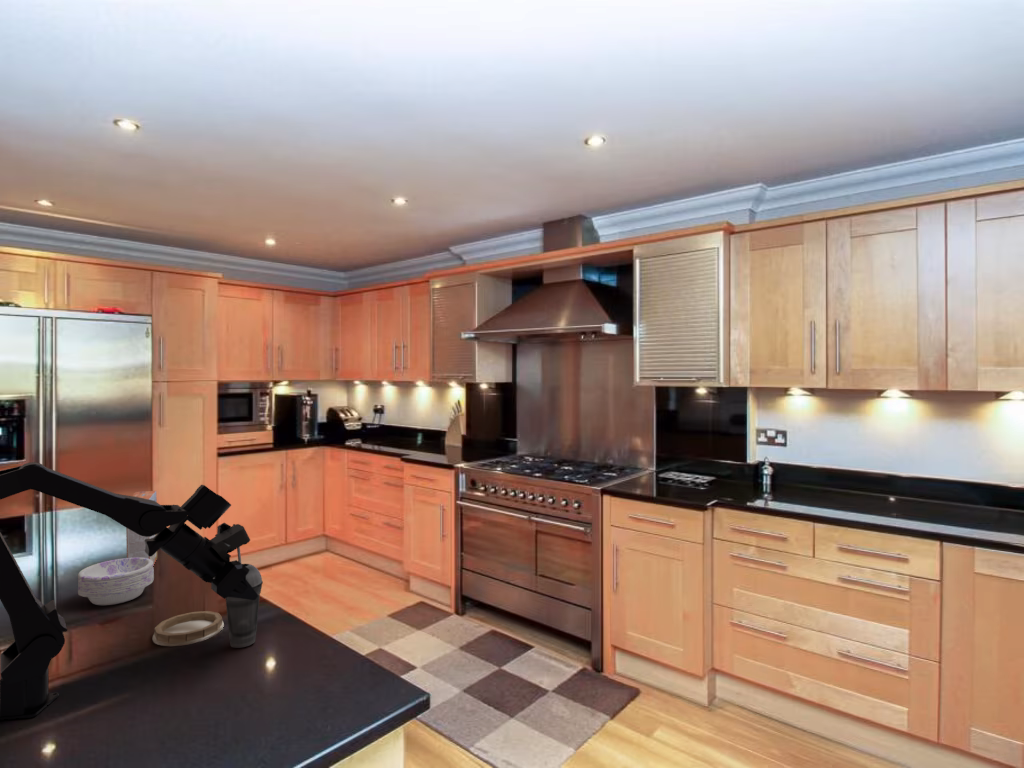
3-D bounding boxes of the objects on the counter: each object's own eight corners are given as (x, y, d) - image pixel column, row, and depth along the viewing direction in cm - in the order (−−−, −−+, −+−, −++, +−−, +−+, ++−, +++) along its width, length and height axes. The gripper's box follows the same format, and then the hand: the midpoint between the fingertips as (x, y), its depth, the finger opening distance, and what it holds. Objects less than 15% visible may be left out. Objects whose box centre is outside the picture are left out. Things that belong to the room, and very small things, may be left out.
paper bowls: (75, 616, 128) (74, 581, 128) (80, 595, 141) (80, 563, 141) (154, 601, 136) (154, 568, 136) (153, 583, 149) (153, 553, 149)
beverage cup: (246, 652, 109) (247, 548, 109) (213, 649, 110) (214, 546, 111) (270, 636, 116) (270, 538, 116) (239, 633, 118) (239, 537, 118)
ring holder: (211, 643, 114) (211, 633, 114) (140, 648, 112) (140, 638, 112) (232, 617, 127) (232, 608, 127) (168, 621, 124) (168, 612, 124)
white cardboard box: (134, 562, 167) (134, 491, 167) (158, 559, 169) (157, 489, 170) (124, 576, 154) (124, 500, 154) (150, 573, 157) (150, 498, 157)
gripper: (237, 522, 104) (296, 569, 111) (208, 506, 118) (263, 549, 125) (189, 574, 99) (254, 620, 106) (165, 551, 112) (224, 594, 120)
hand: (250, 592), depth 114 cm, fingers closed on beverage cup, 7 cm apart
